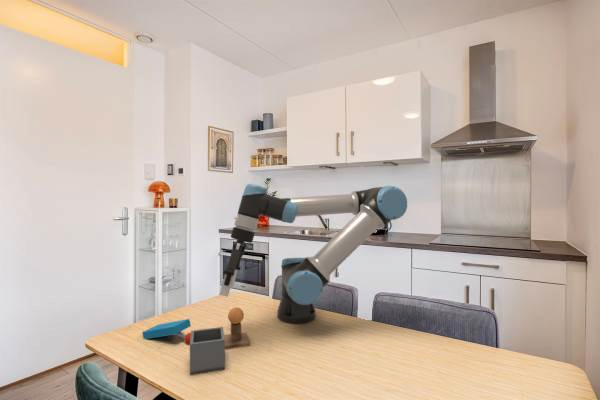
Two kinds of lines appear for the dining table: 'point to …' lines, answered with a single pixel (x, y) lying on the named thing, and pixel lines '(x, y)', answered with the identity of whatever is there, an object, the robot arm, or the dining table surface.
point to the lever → (169, 330)
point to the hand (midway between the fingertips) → (226, 291)
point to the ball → (235, 315)
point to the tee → (236, 337)
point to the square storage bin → (207, 350)
